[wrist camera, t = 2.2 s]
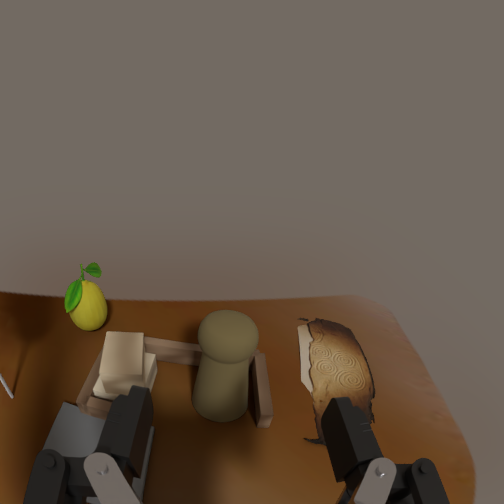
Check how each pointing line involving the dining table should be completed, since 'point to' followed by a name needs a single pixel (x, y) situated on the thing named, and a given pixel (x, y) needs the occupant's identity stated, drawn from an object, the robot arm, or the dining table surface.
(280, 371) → the dining table surface
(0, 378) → the lollipop
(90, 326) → the lemon
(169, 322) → the dining table surface
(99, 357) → the frame
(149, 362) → the offcut lower
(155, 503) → the dining table surface
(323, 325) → the parchment
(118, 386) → the offcut upper
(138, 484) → the pad
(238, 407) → the cork
